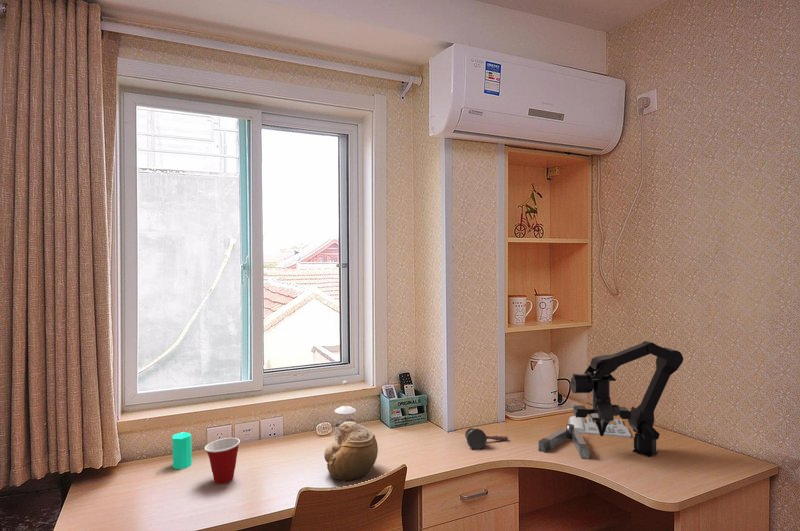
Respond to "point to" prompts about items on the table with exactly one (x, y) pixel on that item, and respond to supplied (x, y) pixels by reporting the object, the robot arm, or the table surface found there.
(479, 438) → the black mallet
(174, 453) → the candle
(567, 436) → the tongs fixed
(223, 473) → the plastic cup
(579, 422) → the office telephone
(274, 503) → the table surface
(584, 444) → the bar
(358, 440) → the buddha statue
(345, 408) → the french press
